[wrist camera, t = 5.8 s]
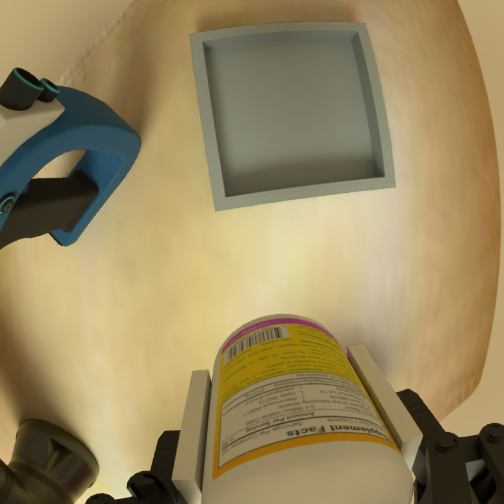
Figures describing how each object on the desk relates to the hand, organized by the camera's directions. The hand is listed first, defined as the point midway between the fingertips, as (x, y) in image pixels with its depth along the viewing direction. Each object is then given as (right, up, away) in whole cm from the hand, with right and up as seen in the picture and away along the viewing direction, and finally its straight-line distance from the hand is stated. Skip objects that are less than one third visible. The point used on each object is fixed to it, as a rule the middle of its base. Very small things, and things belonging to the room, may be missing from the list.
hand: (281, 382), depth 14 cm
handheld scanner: (-17, +12, +14) cm, 25 cm away
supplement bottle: (0, 0, +2) cm, 2 cm away
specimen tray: (+2, +19, +13) cm, 23 cm away
